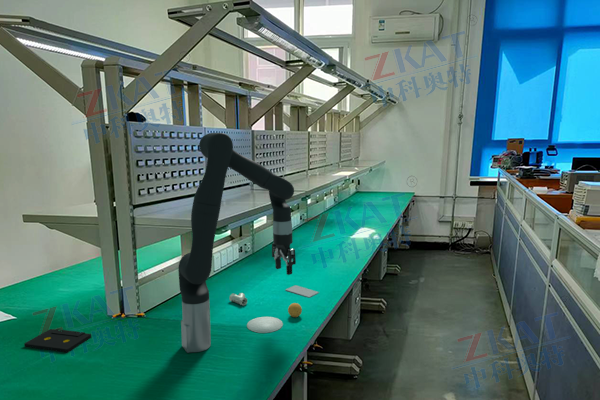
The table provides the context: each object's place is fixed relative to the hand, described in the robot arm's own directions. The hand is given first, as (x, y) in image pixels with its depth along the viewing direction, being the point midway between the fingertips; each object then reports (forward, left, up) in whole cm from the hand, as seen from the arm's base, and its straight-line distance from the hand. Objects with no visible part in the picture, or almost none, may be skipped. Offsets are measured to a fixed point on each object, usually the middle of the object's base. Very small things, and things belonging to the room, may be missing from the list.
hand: (283, 271), depth 162 cm
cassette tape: (-77, +29, -21) cm, 85 cm away
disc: (-8, +1, -21) cm, 22 cm away
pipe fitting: (-6, +27, -21) cm, 35 cm away
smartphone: (+24, +23, -21) cm, 39 cm away
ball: (+6, +1, -18) cm, 19 cm away
